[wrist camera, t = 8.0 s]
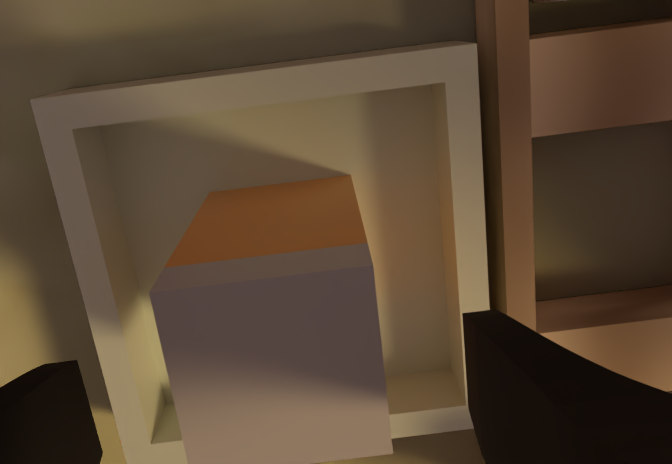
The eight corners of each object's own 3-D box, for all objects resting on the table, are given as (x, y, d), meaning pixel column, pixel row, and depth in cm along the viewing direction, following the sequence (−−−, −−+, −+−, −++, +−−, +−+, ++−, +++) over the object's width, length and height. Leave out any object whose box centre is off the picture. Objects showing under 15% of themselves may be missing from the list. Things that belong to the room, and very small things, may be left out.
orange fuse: (350, 174, 18) (372, 264, 11) (365, 304, 19) (393, 453, 13) (209, 192, 18) (148, 292, 11) (233, 320, 19) (191, 478, 13)
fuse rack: (761, -273, 15) (824, -314, 14) (702, 507, 23) (737, 552, 21) (463, -234, 15) (484, -270, 14) (500, 531, 23) (517, 578, 21)
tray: (454, 40, 17) (477, 43, 15) (474, 379, 21) (495, 426, 18) (68, 89, 17) (29, 99, 15) (149, 419, 21) (128, 471, 18)
